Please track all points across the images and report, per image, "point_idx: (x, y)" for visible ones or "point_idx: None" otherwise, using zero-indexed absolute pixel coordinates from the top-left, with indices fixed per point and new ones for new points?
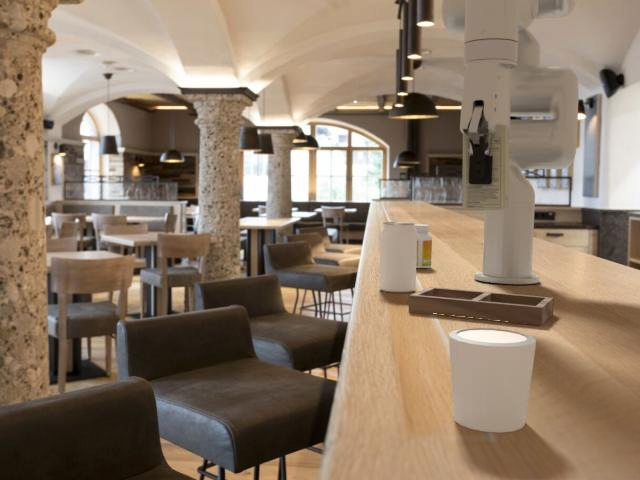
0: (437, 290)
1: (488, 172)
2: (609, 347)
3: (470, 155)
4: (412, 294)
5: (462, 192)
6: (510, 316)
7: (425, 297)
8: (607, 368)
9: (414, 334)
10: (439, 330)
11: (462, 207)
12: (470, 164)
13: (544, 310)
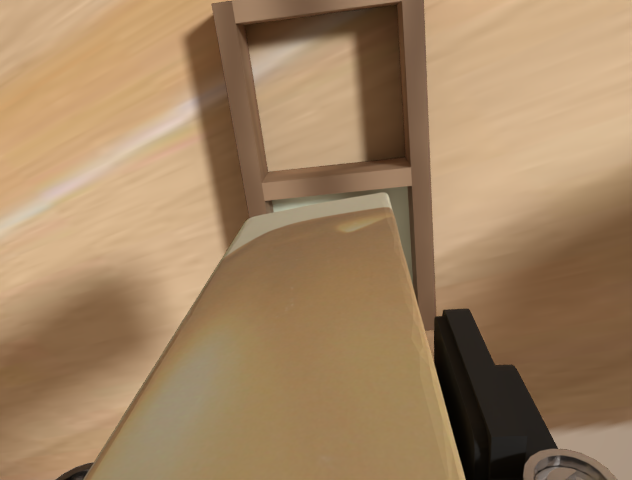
0: (402, 12)
1: None
2: None
3: (80, 468)
4: (232, 4)
5: (229, 248)
6: None
7: (222, 58)
8: (47, 454)
9: (8, 147)
10: (83, 172)
11: (247, 220)
12: None
13: None
